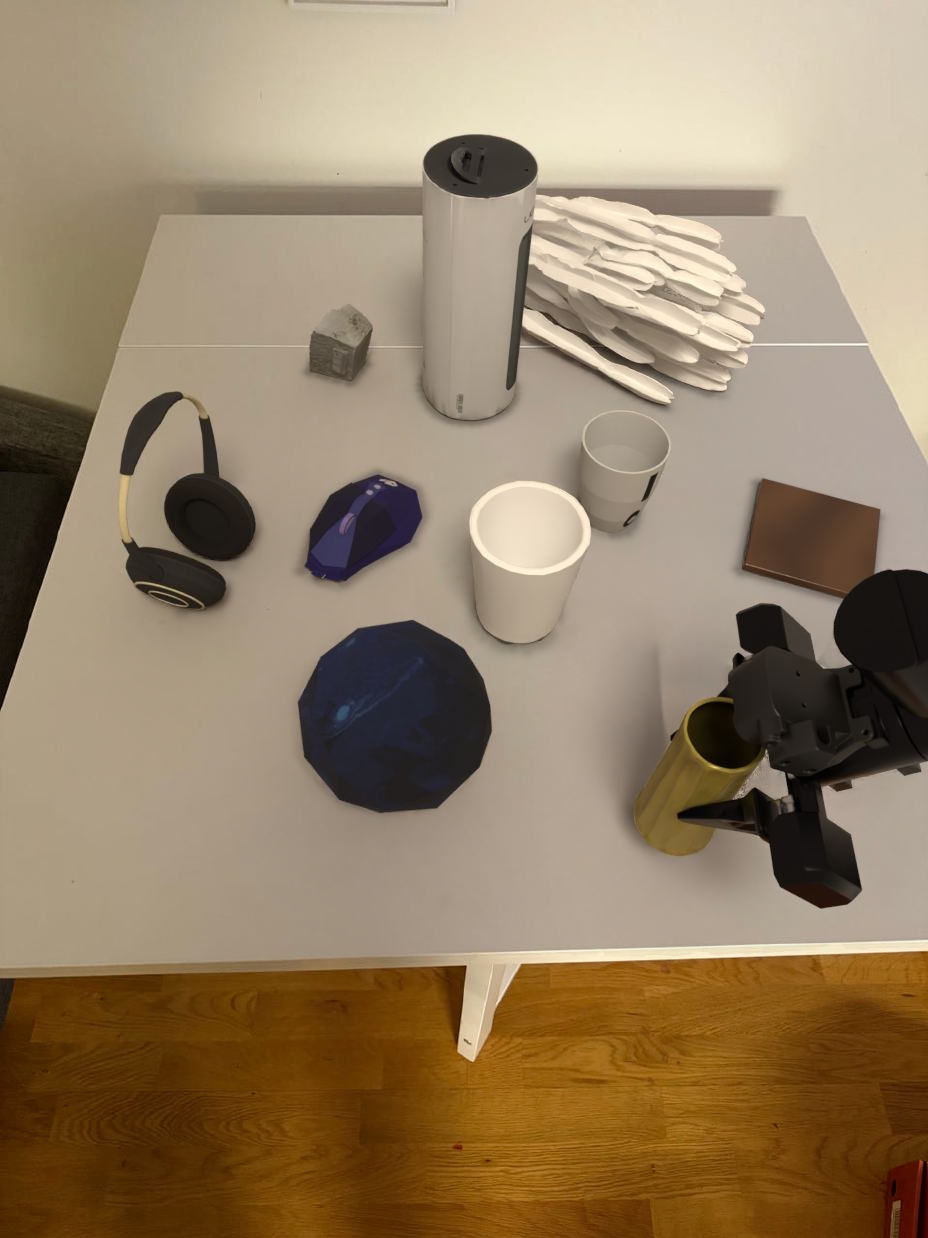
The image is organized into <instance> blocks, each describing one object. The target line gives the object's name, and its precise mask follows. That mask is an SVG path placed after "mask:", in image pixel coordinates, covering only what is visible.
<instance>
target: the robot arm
mask: <svg viewBox="0 0 928 1238" xmlns="http://www.w3.org/2000/svg"><path fill="white" fill-rule="evenodd" d="M735 620H736V621H735V622H736V627H737V635H738V640H739V641H738V642H739V648H741V649H742V650H743V651H745V652H747V653H749V654H748V655H746V656H744V655H743V654H742V653H741V652H736V653H735V654H734V655H733V656H732V659H731V660H732V661H731V663H732V668H731V670H729V672H728V673H727V684H726V686H725V687H724V688H723V689H722V690H721V691H720V692H719V693H718V694H717V695H716V697H725V698H730V699H733V705H734V715H733V723H734V727H735V730H736V732H737V733H738V735H739V736H740V737H741V738H742V739H743V740H745V741H746V742H749V743H752V744H761V746H762V747H763V748H765V749H766V752H767V756H768V757H767V758H768V763H769V764H768V765H769V767H770V768H771V769H773V770H775V771H778V772H782V773H784V777H785V782H786V783H785V784H786V788H787V795H784V796H783V795H782V796H781V797H780V798H776V799H774V798H773V797H772V796H770V795H768V794H767V793H765V792H764V791H763V790H761V789H759V788H758V787H756V786H754V787H752V788H751V789H750V790H749V791H748V792H747V793H746V794H745V795H744V796H742V797H739V798H733V799H732V800H728V801H723V802H717V803H712V804H707V805H701V806H696V807H692V808H689V809H686V810H684V811H681V812H678V813H677V819H678V820H680V821H682V822H684V823H688V824H694V825H700V826H706V827H712V828H716V829H718V830H719V829H720V830H725V831H731V832H737V833H744V834H749V835H752V836H757V837H759V838H760V839H761V841H764V842H765V843H767V844H768V845H769V852H770V858H771V865H772V872H773V876H774V878H775V880H776V882H777V884H778V886H779V888H781V889H782V890H784V891H786V892H788V893H790V894H791V895H794V896H795V897H797V898H799V899H801V900H803V901H805V902H807V903H809V904H811V905H812V906H814V907H817V908H818V909H820V910H822V909H829V908H835V907H841V906H848V905H849V904H851V903H852V902H853V901H854V900H855V899H856V898H857V897H858V896H859V894H860V893H861V892H862V891H863V885H862V881H861V878H860V872H859V871H860V870H859V868H858V867H859V866H858V862H857V857H856V852H855V847H854V842H853V838H852V837H853V836H852V834H851V833H850V832H849V831H847V830H846V829H844V828H843V827H841V826H840V825H838V824H837V823H835V822H834V821H832V820H830V819H829V818H828V816H827V815H828V814H827V810H826V805H825V799H824V793H823V789H822V788H824V787H829V788H831V789H832V790H834V791H835V792H836V793H838V792H843V791H847V790H851V789H853V788H854V786H853V782H852V781H853V780H856V779H857V780H859V779H863V778H865V777H870V776H874V775H878V774H882V773H886V772H890V771H894V770H896V771H898V772H899V773H900V774H901V775H903V776H904V777H906V776H910V775H914V774H915V775H916V774H918V773H922V772H923V771H922V766H921V764H923V763H928V572H925V571H922V570H918V569H910V568H905V569H895V570H894V569H891V568H890V569H889V568H888V569H887V568H886V569H885V570H881V571H879V572H876V573H874V575H872V576H870V577H868V578H866V579H864V580H863V581H862V582H860V583H859V584H858V585H856V586H855V587H854V588H853V589H852V590H851V591H850V592H849V593H848V594H847V595H846V597H845V598H844V599H843V598H842V600H841V602H840V604H839V606H838V607H837V609H836V613H835V616H834V620H833V630H832V631H833V632H832V633H833V640H834V643H835V646H836V647H837V649H838V652H839V653H840V654H841V655H842V656H843V657H844V658H845V659H846V661H847V662H849V663H850V664H848V665H845V666H841V667H832V668H830V667H825V668H824V667H823V666H822V665H821V664H819V663H818V662H817V660H816V659H817V658H816V654H815V649H814V645H813V639H812V634H811V633H810V632H809V631H808V630H807V629H806V628H805V627H804V626H803V625H802V624H801V623H799V622H798V621H797V620H796V619H795V618H794V617H793V616H792V615H791V614H790V613H788V612H787V611H786V610H785V608H783V607H782V605H778V604H775V603H769V602H767V603H766V602H760V603H757V604H755V605H751V606H749V607H747V608H744V609H742V610H739V611H738V612H736V614H735ZM677 730H678V728H677V729H676V730H675V731H674V732H673V733H671V734H670V736H669V740H670V742H671V741H672V739H673V738H674V736H675V734H676V732H677Z"/></svg>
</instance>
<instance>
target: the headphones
mask: <svg viewBox="0 0 928 1238" xmlns="http://www.w3.org/2000/svg"><path fill="white" fill-rule="evenodd" d="M182 400H188V401H189V402H190V403H192V404H193V405H194V407H195V409H196V410H197V412H198V423H199V427H200V432H201V441H202V442H201V443H202V463H203V472H196V473H190V474H188V475H184V476H183V477H181V478H179V479H178V480H176V481H175V482H174V484H172V485H171V486H170V487H169V489H168V490H167V493H166V494H165V498H164V503H163V514H164V518H165V522H166V524H167V526H168V528H169V530H170V532H171V533H172V535H173V536H174V537H175V538H176V540H177V541H178V542H179V543H181V545H182V546H183V547H185V548H186V549H187V550H188V551H191V552H192V553H194V554H196V555H198V556H200V557H202V558H205V559H209V560H214V561H226V560H230V559H234V558H236V557H238V556H240V555H242V554H243V553H244V552H245V551H246V550H247V549H248V548H249V547H250V545H251V543H252V542H253V540H254V537H255V533H256V531H257V530H256V529H257V528H256V526H257V522H256V515H255V512H254V510H253V507H252V506H251V503H250V502H249V500H248V499H247V498H246V496H245V495H244V493H242V491H241V490H239V489H238V488H237V487H236V486H235V485H233V484H232V483H231V482H230V481H227V480H226V479H224V478H222V477H221V476H220V467H219V460H218V459H219V458H218V450H217V446H216V439H215V434H214V430H213V429H214V428H213V426H212V421H211V417H210V415H209V414H208V413H207V410H206V408H205V406H204V404H202V402H201V401H200V400H198V398H196V397H195V396H193V395H191V394H189V393H185V392H184V393H183V392H181V391H175V390H174V391H167V392H163V393H161V394H159V395H157V396H155V397H153V398H152V399H151V400H149V401H147V402H146V403H145V404H144V405H142V406H141V408H139V410H138V411H137V412H136V413H135V414H134V415H133V418H132V419H131V422H130V424H129V426H128V428H127V431H126V435H125V438H124V441H123V442H124V443H123V447H122V451H121V457H120V465H119V474H120V481H119V482H120V483H119V488H118V497H117V499H118V500H117V518H118V526H119V527H118V528H119V532H120V536H121V542H122V544H123V546H124V548H125V550H126V552H127V553H128V557H127V559H126V562H125V570H126V573H127V576H128V577H129V579H130V581H131V582H132V584H133V586H134V588H135V589H136V590H138V591H139V592H141V593H143V594H145V595H147V596H149V597H151V598H153V599H155V600H157V601H159V602H162V603H166V604H168V605H170V606H171V605H172V606H175V607H178V608H184V609H188V610H196V611H198V610H199V611H201V610H204V609H205V608H208V607H212V606H214V605H216V604H217V603H219V602H221V601H222V599H223V598H224V596H225V594H226V591H227V582H226V580H225V577H224V576H223V574H221V573H220V572H219V571H218V570H217V569H215V568H213V567H211V566H210V565H208V564H205V563H204V562H202V561H200V560H197V559H195V558H193V557H190V556H188V555H185V554H182V553H178V552H176V551H172V550H168V549H163V548H159V547H155V546H154V547H152V546H139V545H138V543H137V542H136V540H135V539H134V538H133V536H131V533H130V528H129V522H128V521H129V520H128V499H129V487H130V482H131V478H132V476H133V475H134V473H135V470H136V467H137V465H138V462H139V460H140V458H141V456H142V454H143V452H144V450H145V448H146V447H147V444H148V443H149V441H150V439H151V438H152V436H153V435H154V434H155V432H156V431H157V430H158V428H159V427H160V426H161V425H162V422H163V421H164V419H165V417H166V416H167V414H168V412H169V410H170V409H171V408H172V407H173V406H174V405H175V404H176V403H177V402H180V401H182Z"/></svg>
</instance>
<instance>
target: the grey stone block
mask: <svg viewBox="0 0 928 1238" xmlns="http://www.w3.org/2000/svg"><path fill="white" fill-rule="evenodd" d="M373 330H374V326H373V323H371V321H370V320H369V318H368V317H367V316H365V315H364V314H363V312H362V311H360V310H359V309H357V308H356V307H355V306H353V305H352V304H351V303H348V304H346V305H345V304H344V305H343V306H342V307H341V308H337V309H334V308H332V309H330V310H329V312H327V313H326V314H325V315H324V317H322V319H321V320H320V322H319V323H318V324H316V326H315V327H314V330H313V331H312V333H311V334H310V340H309V346H308V347H309V352H308V355H309V356H308V357H309V361H308V363H309V367H308V369H309V371H310V372H311V373H312V372H313V373H318V374H322V375H325V376H328V377H334V378H337V379H341V380H345V381H348V382H352V381H353V380H354V378H355V377H356V375H357V374H358V373H359V371H360V370H361V369H362V368H363V367H364V366H365V365H366V362H367V356H368V352H369V349H370V344H371V339H372V335H373V334H372V333H373V332H374V331H373Z"/></svg>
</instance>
